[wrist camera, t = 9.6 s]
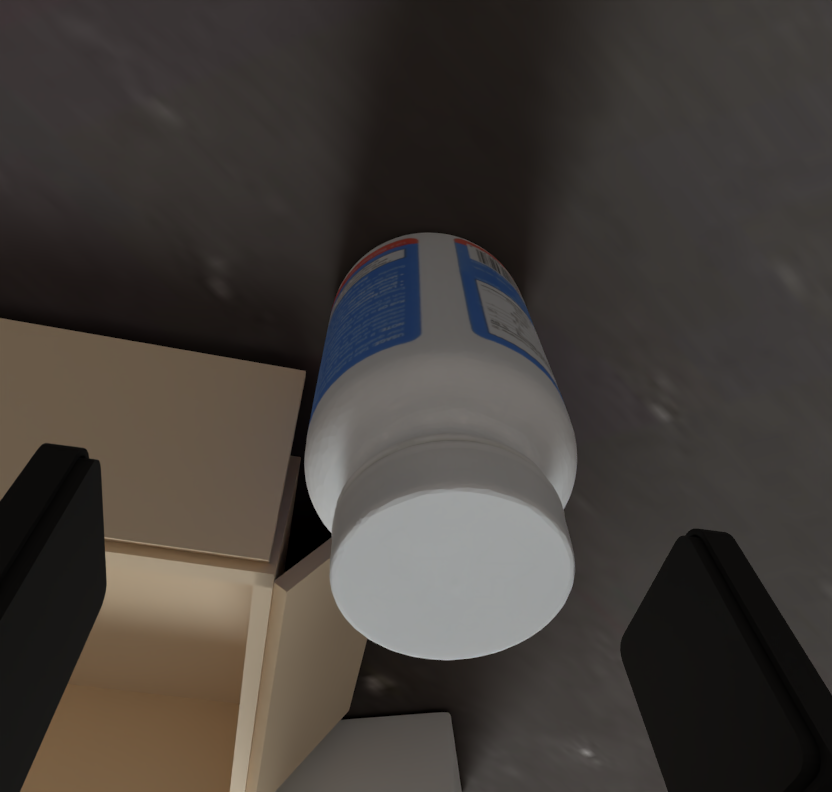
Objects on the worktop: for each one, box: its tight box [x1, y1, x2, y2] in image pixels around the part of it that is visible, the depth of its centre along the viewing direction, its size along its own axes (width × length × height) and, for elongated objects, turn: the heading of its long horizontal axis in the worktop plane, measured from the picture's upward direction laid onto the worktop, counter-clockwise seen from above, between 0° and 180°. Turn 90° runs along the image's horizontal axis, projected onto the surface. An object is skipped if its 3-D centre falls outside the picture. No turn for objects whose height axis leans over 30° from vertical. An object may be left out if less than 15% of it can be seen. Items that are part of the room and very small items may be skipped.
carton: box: [0, 318, 367, 792], centre depth 22 cm, size 20×20×5 cm
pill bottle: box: [304, 232, 577, 660], centre depth 15 cm, size 6×5×10 cm
